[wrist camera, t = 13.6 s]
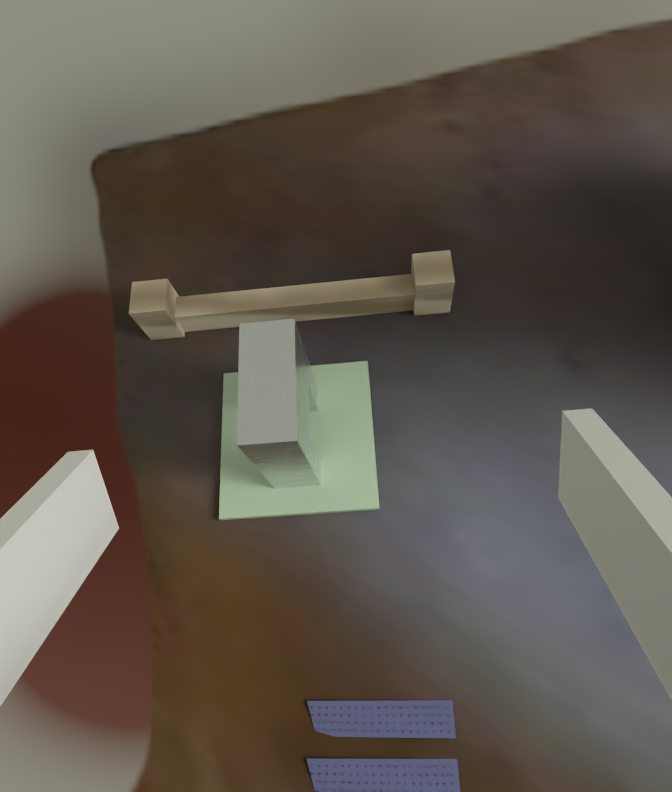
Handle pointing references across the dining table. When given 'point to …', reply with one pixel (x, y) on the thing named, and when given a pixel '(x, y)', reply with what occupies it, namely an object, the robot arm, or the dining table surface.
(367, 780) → the signage
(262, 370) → the tall grey upright block
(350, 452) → the pad
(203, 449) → the dining table surface
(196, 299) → the rail stand
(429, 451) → the dining table surface
